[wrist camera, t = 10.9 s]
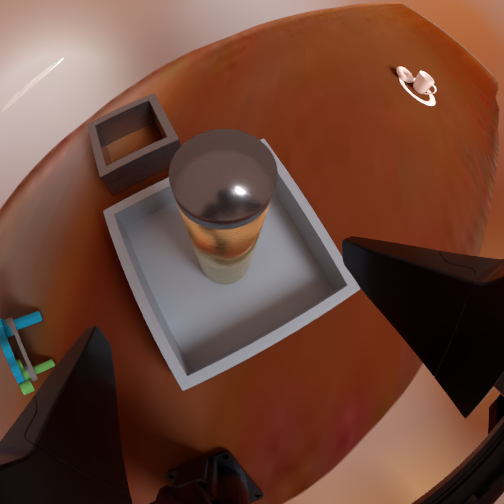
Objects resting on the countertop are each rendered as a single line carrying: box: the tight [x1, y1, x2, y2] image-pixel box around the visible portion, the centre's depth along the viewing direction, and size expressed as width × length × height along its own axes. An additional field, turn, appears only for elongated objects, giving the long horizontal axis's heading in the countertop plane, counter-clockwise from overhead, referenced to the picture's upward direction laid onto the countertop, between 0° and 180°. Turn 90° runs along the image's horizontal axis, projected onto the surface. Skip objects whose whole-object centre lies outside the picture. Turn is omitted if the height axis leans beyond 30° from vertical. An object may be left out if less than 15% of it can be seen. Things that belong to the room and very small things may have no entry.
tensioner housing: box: [88, 94, 180, 196], centre depth 23 cm, size 8×8×4 cm
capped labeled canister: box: [169, 129, 278, 285], centre depth 16 cm, size 4×4×13 cm
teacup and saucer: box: [396, 66, 436, 106], centre depth 33 cm, size 9×8×4 cm
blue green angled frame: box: [0, 311, 55, 395], centre depth 17 cm, size 11×6×10 cm
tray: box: [103, 139, 360, 391], centre depth 21 cm, size 15×15×4 cm
